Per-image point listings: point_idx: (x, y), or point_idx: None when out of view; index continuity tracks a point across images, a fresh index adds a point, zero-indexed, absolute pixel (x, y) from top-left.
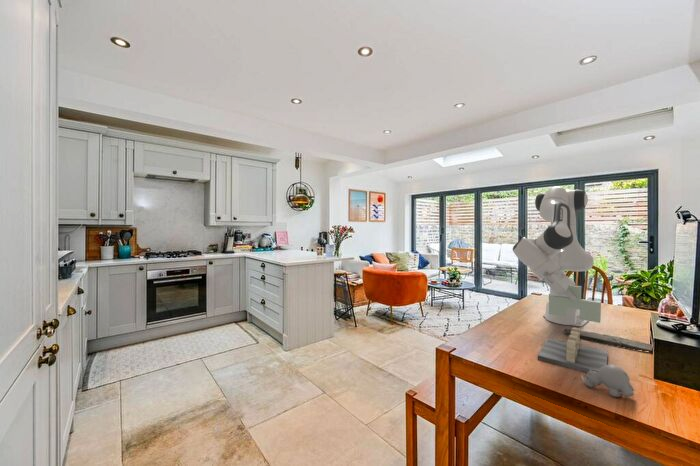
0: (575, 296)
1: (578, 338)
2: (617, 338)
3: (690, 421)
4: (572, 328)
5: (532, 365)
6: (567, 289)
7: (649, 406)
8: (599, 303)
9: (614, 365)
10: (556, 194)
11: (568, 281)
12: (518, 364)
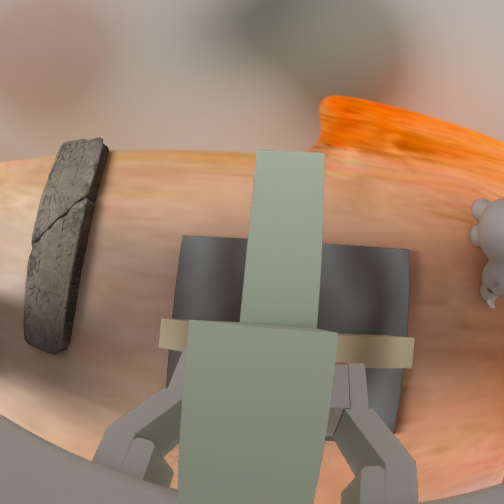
0: (366, 383)
1: None
2: (54, 207)
3: (484, 138)
4: (181, 350)
5: (444, 433)
6: (414, 499)
7: (485, 185)
8: (322, 165)
9: None
10: None
11: (10, 477)
12: (456, 460)
